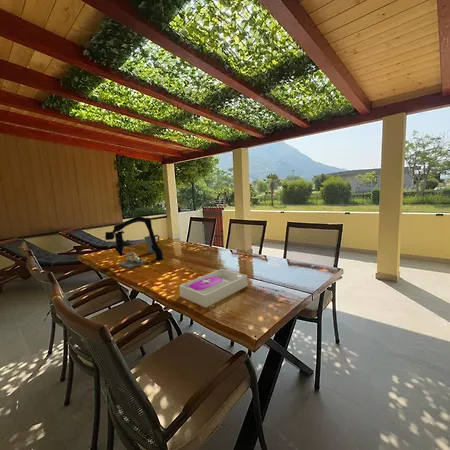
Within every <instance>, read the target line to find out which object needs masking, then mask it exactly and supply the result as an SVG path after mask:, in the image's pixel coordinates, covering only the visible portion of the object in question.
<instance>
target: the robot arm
mask: <svg viewBox="0 0 450 450" xmlns="http://www.w3.org/2000/svg"><path fill="white" fill-rule="evenodd" d="M137 221H139V222H142V223H144V224H145V226H146V228H147V230H148V234H150V237H151V241H152V245H151V247H152V250H153V251H154V252H156V253H154V255H155V258H154V261H161V260H164V259H165V257H164V256H163V249H162V248H160V246H159V243H158V244H157V242H158V241H157V240H156V237H155V236H154V235H155V233H154V230H153V227H152V220H151V218H150V217H145V216H140V215H136V216H134V217H132V218H130V219H128V220H126V221H124V222H120V223H116V224H115V225H114V227H113V230H112V231H105V236H104V237H105V241H112V240H114V239H115V245H116V246H115V248H114V250H115V251H116V252H117V253H118V254H119V256H120V257H122V256H123V255H122V253H123V252H124V251H123V250H125V246H127V247H130V244H131V241H130V240H129V239H127V240H125V239H124V238H123V234H125V231H123V229H124V228H126V227H127V226H129V225H131V224H133V223H135V222H137Z"/></svg>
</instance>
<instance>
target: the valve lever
mask: <svg viewBox="0 0 450 450" xmlns="http://www.w3.org/2000/svg"><path fill="white" fill-rule="evenodd" d="M132 255H135V252H134V251H133V252H126V251H122V256H132Z"/></svg>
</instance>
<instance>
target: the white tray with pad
mask: <svg viewBox="0 0 450 450" xmlns="http://www.w3.org/2000/svg"><path fill="white" fill-rule="evenodd" d="M248 286H249V284H248V275H247V274H243V273H238V272H235V271H231V270H227V269H223V268H220V269H218V270H215V271H213V272H210V273H208V274H205V275H202V276H199V277H198V278H194V279H192V280H189V281H187V282H184V283H182V284H179V297H181V298H183V299H185V300H188V301H189V302H192V303H194V304H196V305H199V306H202V307H203V308H208V307H210V306H212V305H213V304H216V303H217V302H220V301H222V300H223V299H225V298H227V297H229V296H231V295H233V294H235V293H237V292H238V291H241V290H242V289H244V288H246V287H248Z"/></svg>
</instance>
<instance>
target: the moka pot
mask: <svg viewBox="0 0 450 450" xmlns="http://www.w3.org/2000/svg"><path fill="white" fill-rule="evenodd" d="M148 234H149V233H148ZM154 236H155V238H157V241H156V242H157V244H158V245H159V242H160V236H159V235H158V234H154ZM143 239H144V241H146V244H147V248H148V251H147V252H148V254H151V255H152V254H155V253H156V252H154V251H153V250H152V247H151V245H152V241H151V237H150V234H149V235H147V236H144V237H143Z"/></svg>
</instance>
